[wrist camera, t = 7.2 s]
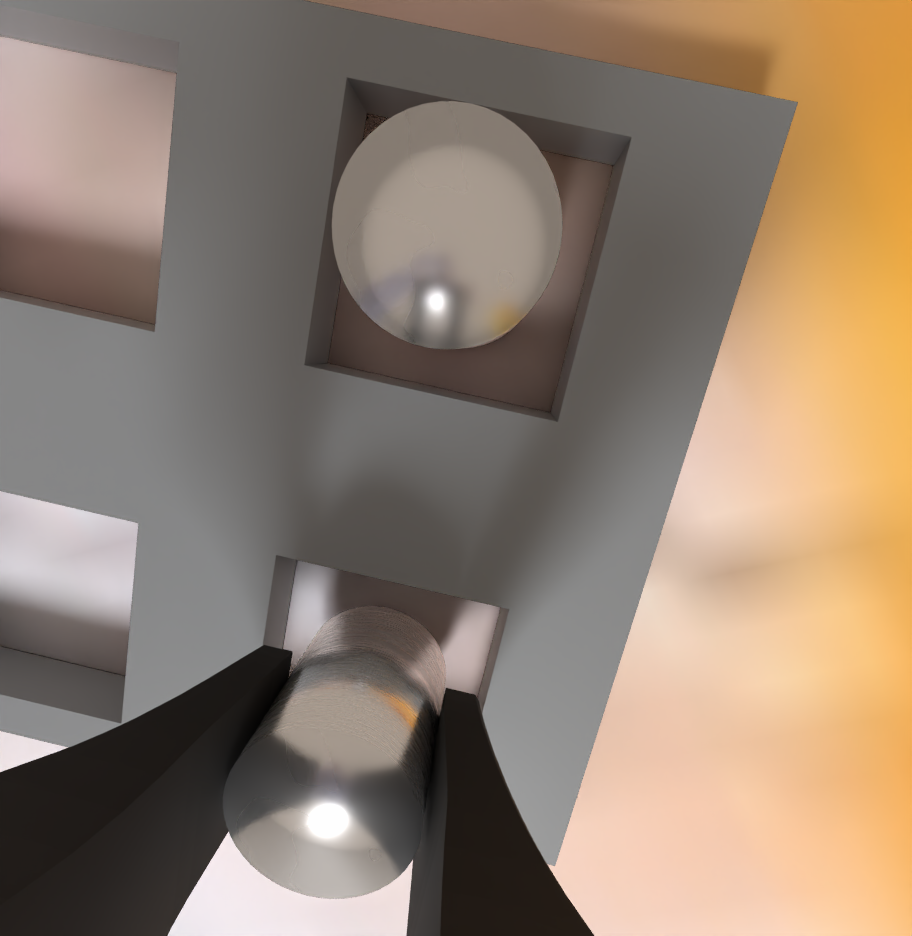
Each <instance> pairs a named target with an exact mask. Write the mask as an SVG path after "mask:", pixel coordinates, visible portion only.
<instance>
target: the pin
mask: <svg viewBox="0 0 912 936" xmlns="http://www.w3.org/2000/svg"><path fill="white" fill-rule="evenodd" d="M562 225H563V222H562V207H561V202H560V196H559V191H558V188H557V185H556V182H555V179H554V176H553V173H552V171H551V169H550V167H549V165H548V163H547V161H546V159H545V158H544V156H543V155H542V153H541V152H540V150H539V148H538V147H537V146H536V144H535V143H534V142H533V141H532V140H531V139H530V138H529V136H528V135H527V134H526V133H525V132H524V131H522V130H521V129H520V128H519V127H518V126H517V125H516V124H514V123H513V122H511V121H510V120H508V119H507V118H505V117H504V116H502V115H501V114H498V113H496V112H494V111H492V110H490V109H488V108H485V107H482V106H478V105H475V104H471V103H465V102H457V101H438V102H432V103H426V104H422V105H418V106H415V107H412V108H409V109H407V110H404V111H402V112H400V113H398V114H396V115H394V116H392V117H391V118H389V119H388V120H386V121H385V122H383V123H382V124H381V125H379V126H378V127H377V128H376V129H375V130H374V131H373V132H371V133H370V134H369V135H368V136H367V137H366V139H365V140H364V141H363V142H362V143H361V144H360V145H359V147H358V148H357V149H356V151H355V152H354V154H353V156H352V157H351V159H350V160H349V162H348V164H347V166H346V168H345V170H344V172H343V174H342V176H341V179H340V182H339V185H338V188H337V191H336V196H335V200H334V205H333V214H332V240H333V247H334V254H335V257H336V261H337V265H338V268H339V271H340V273H341V276H342V278H343V281H344V283H345V285H346V287H347V289H348V290H349V292H350V294H351V296H352V297H353V299H354V300H355V301H356V303H357V304H358V305H359V307H360V308H361V309H362V310H363V311H364V312H365V313H366V315H367V316H368V317H369V318H370V319H371V320H372V321H374V322H375V323H376V324H377V325H379V326H380V327H381V328H382V329H384V330H385V331H387V332H389V333H390V334H392V335H393V336H395V337H397V338H399V339H402V340H404V341H406V342H408V343H412V344H415V345H419V346H422V347H428V348H434V349H461V348H472V347H478V346H482V345H486V344H488V343H491V342H493V341H495V340H497V339H499V338H501V337H502V336H504V335H505V334H507V333H508V332H509V331H511V330H512V329H513V328H514V327H515V326H516V325H517V324H518V323H519V322H520V321H521V320H522V319H523V318H524V317H525V316H526V314H527V313H528V312H529V311H530V310H531V309H532V307H533V306H534V305H535V304H536V302H537V301H538V300H539V299H540V297H541V295H542V294H543V292H544V290H545V289H546V287H547V285H548V283H549V281H550V279H551V276H552V274H553V272H554V269H555V266H556V263H557V260H558V256H559V252H560V246H561V240H562Z"/></svg>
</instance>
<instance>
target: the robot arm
mask: <svg viewBox="0 0 912 936" xmlns="http://www.w3.org/2000/svg"><path fill="white" fill-rule="evenodd" d="M291 658H292V651H288V650H284V649H280V648H275V647H271V646H267V645H263V646H261V647H259V648H258V649H256V650H254V651H253V652H251V653H249V654H248V655H246V656H244V657H243V658H241V659H239V660H238V661H236V662H234V663H233V664H231V665H229V666H228V667H226V668H225V669H223V670H221V671H220V672H218V673H216V674H215V675H213V676H211V677H210V678H208V679H206V680H204V681H203V682H201V683H199V684H198V685H196V686H194V687H192V688H191V689H189V690H187V691H186V692H184V693H182V694H180V695H179V696H177V697H175V698H173V699H171V700H169V701H167V702H165V703H163V704H161V705H159V706H158V707H156V708H154V709H152V710H150V711H148V712H146V713H144V714H142V715H140V716H138V717H137V718H135V719H132V720H130V721H128V722H126V723H124V724H122V725H120V726H118V727H115V728H113V729H111V730H109V731H107V732H104V733H102V734H100V735H97V736H95V737H93V738H90V739H88V740H86V741H83V742H81V743H79V744H76V745H74V746H71V747H69V748H66V749H64V750H61V751H58V752H56V753H53V754H50V755H47V756H44V757H42V758H39V759H36V760H33V761H30V762H28V763H25V764H22V765H19V766H17V767H14V768H11V769H8V770H5V771H3V772H0V936H167V935H168V933H169V931H170V929H171V927H172V925H173V924H174V922H175V920H176V918H177V916H178V915H179V913H180V911H181V909H182V908H183V906H184V904H185V902H186V900H187V899H188V897H189V895H190V894H191V892H192V890H193V889H194V887H195V886H196V884H197V882H198V881H199V879H200V877H201V876H202V874H203V872H204V871H205V869H206V867H207V866H208V864H209V862H210V861H211V859H212V858H213V856H214V854H215V853H216V851H217V849H218V848H219V846H220V844H221V843H222V841H223V839H224V838H225V836H226V835H227V833H228V828H227V826H226V822H225V817H224V811H223V793H224V788H225V784H226V781H227V778H228V775H229V773H230V771H231V769H232V768H233V766H234V764H235V763H236V761H237V759H238V758H239V756H240V755H241V753H242V751H243V750H244V748H245V747H246V745H247V743H248V742H249V740H250V739H251V737H252V736H253V734H254V732H255V731H256V729H257V728H258V726H259V724H260V723H261V721H262V720H263V718H264V716H265V715H266V713H267V712H268V710H269V708H270V707H271V705H272V704H273V702H274V701H275V699H276V697H277V696H278V694H279V693H280V691H281V689H282V688H283V686H284V685H285V683H286V681H287V680H288V677H289V671H290V665H291ZM407 936H594V935H593V933H592V932H591V930H590V929H589V927H588V926H587V925H586V923H585V922H584V920H583V919H582V917H581V916H580V914H579V913H578V912H577V910H576V909H575V907H574V906H573V904H572V903H571V902H570V900H569V899H568V897H567V896H566V894H565V893H564V891H563V889H562V888H561V886H560V885H559V883H558V881H557V880H556V878H555V876H554V875H553V873H552V872H551V870H550V868H549V867H548V865H547V863H546V861H545V860H544V858H543V856H542V854H541V853H540V851H539V849H538V847H537V846H536V844H535V842H534V840H533V838H532V836H531V834H530V832H529V830H528V828H527V826H526V824H525V823H524V821H523V819H522V816H521V814H520V812H519V810H518V808H517V806H516V804H515V801H514V799H513V797H512V795H511V793H510V790H509V788H508V786H507V783H506V781H505V779H504V776H503V773H502V771H501V768H500V766H499V763H498V761H497V758H496V756H495V753H494V750H493V747H492V745H491V742H490V738H489V735H488V732H487V729H486V726H485V723H484V719H483V715H482V711H481V707H480V703H479V700H478V698H477V697H476V695H474V694H470V693H466V692H461V691H457V690H453V689H449V688H446V690H445V694H444V698H443V703H442V707H441V711H440V715H439V720H438V727H437V733H436V739H435V746H434V752H433V761H432V769H431V776H430V782H429V789H428V795H427V801H426V808H425V814H424V821H423V827H422V833H421V840H420V843H419V846H418V849H417V852H416V854H415V856H414V858H413V868H412V880H411V891H410V903H409V914H408V926H407Z"/></svg>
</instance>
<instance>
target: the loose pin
mask: <svg viewBox="0 0 912 936" xmlns="http://www.w3.org/2000/svg"><path fill="white" fill-rule="evenodd" d="M445 680H446V668H445V661H444V658H443V654H442V652H441V650H440V647H439V645H438V644H437V642H436V640H435V639H434V637H433V636H432V635H431V634H430V632H429V631H428V630H427V629H426V628H425V627H424V626H423V625H422V624H420V623H419V622H418V621H416V620H415V619H414V618H412V617H410V616H408V615H407V614H404V613H402V612H400V611H397V610H394V609H390V608H386V607H380V606H363V607H357V608H352V609H349V610H346V611H343V612H341V613H339V614H337V615H336V616H334V617H333V618H331V619H330V620H328V621H327V622H326V623H325V624H324V625H323V626H322V627H321V628H320V630H319V631H318V632H317V634H316V635H315V637H314V638H313V640H312V642H311V643H310V645H309V646H308V648H307V650H306V651H305V653H304V654H303V656H302V658H301V659H300V661H299V662H298V664H297V666H296V667H295V669H294V670H293V672H292V673H291V675H290V677H289V678H288V680H287V681H286V683H285V685H284V686H283V688H282V689H281V691H280V693H279V694H278V696H277V697H276V699H275V701H274V702H273V704H272V705H271V707H270V708H269V710H268V712H267V713H266V715H265V716H264V718H263V720H262V721H261V723H260V724H259V726H258V728H257V729H256V731H255V732H254V734H253V736H252V737H251V739H250V740H249V742H248V743H247V745H246V747H245V748H244V750H243V751H242V753H241V755H240V756H239V758H238V759H237V761H236V763H235V764H234V766H233V768H232V769H231V771H230V773H229V775H228V778H227V781H226V784H225V788H224V793H223V811H224V817H225V822H226V826H227V828H228V831H229V833H230V836H231V838H232V840H233V841H234V843H235V845H236V847H237V848H238V850H239V851H240V852H241V854H242V855H243V856H244V858H245V859H246V860H247V861H248V862H249V863H250V864H251V865H252V866H253V867H254V868H255V869H256V870H258V871H259V872H260V873H261V874H263V875H264V876H265V877H267V878H268V879H270V880H271V881H273V882H275V883H277V884H279V885H280V886H282V887H284V888H287V889H289V890H292V891H294V892H297V893H300V894H304V895H307V896H313V897H318V898H328V899H344V898H352V897H358V896H362V895H365V894H369V893H371V892H374V891H376V890H379V889H381V888H382V887H384V886H386V885H388V884H389V883H391V882H392V881H393V880H395V879H396V878H397V877H399V876H400V875H401V874H402V873H403V872H404V871H405V869H406V868H407V867H408V865H409V864H410V863H411V861H412V860H413V858H414V856H415V854H416V852H417V849H418V846H419V843H420V840H421V833H422V827H423V821H424V814H425V808H426V801H427V795H428V789H429V782H430V776H431V769H432V761H433V752H434V746H435V739H436V733H437V727H438V720H439V715H440V711H441V705H442V699H443V692H444V686H445Z"/></svg>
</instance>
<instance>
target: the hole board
mask: <svg viewBox="0 0 912 936" xmlns="http://www.w3.org/2000/svg"><path fill="white" fill-rule="evenodd" d="M0 36H3V37H8V38H13V39H17V40H22V41H27V42H32V43H36V44H41V45H46V46H50V47H55V48H60V49H65V50H69V51H74V52H79V53H84V54H88V55H93V56H98V57H103V58H107V59H112V60H117V61H122V62H126V63H131V64H136V65H141V66H145V67H150V68H155V69H160V70H164V71H169V72H174V73H177V76H176V87H175V99H174V111H173V123H172V134H171V146H170V158H169V170H168V182H167V193H166V205H165V217H164V229H163V240H162V252H161V264H160V276H159V287H158V299H157V311H156V323H155V324H150V323H146V322H141V321H137V320H132V319H128V318H123V317H119V316H114V315H110V314H105V313H101V312H96V311H92V310H87V309H83V308H78V307H74V306H69V305H65V304H60V303H56V302H51V301H47V300H42V299H38V298H33V297H29V296H24V295H20V294H15V293H11V292H6V291H2V290H0V491H3V492H7V493H11V494H16V495H20V496H24V497H28V498H33V499H37V500H41V501H46V502H50V503H54V504H59V505H63V506H67V507H71V508H76V509H80V510H84V511H89V512H93V513H97V514H102V515H106V516H110V517H115V518H119V519H123V520H127V521H132V522H136V523H138V535H137V547H136V558H135V570H134V582H133V594H132V605H131V617H130V629H129V641H128V652H127V664H126V676H121V675H117V674H113V673H109V672H105V671H101V670H96V669H92V668H88V667H84V666H80V665H76V664H71V663H67V662H63V661H59V660H55V659H51V658H46V657H42V656H38V655H34V654H30V653H26V652H21V651H17V650H13V649H9V648H5V647H0V731H3V732H7V733H11V734H16V735H20V736H24V737H28V738H32V739H36V740H40V741H44V742H48V743H52V744H57V745H61V746H65V747H71V746H74V745H76V744H79V743H81V742H83V741H86V740H88V739H90V738H93V737H95V736H97V735H100V734H102V733H104V732H107V731H109V730H111V729H113V728H115V727H118V726H120V725H122V724H124V723H126V722H128V721H130V720H132V719H135V718H137V717H138V716H140V715H142V714H144V713H146V712H148V711H150V710H152V709H154V708H156V707H158V706H159V705H161V704H163V703H165V702H167V701H169V700H171V699H173V698H175V697H177V696H179V695H180V694H182V693H184V692H186V691H187V690H189V689H191V688H192V687H194V686H196V685H198V684H199V683H201V682H203V681H204V680H206V679H208V678H210V677H211V676H213V675H215V674H216V673H218V672H220V671H221V670H223V669H225V668H226V667H228V666H229V665H231V664H233V663H234V662H236V661H238V660H239V659H241V658H243V657H244V656H246V655H248V654H249V653H251V652H253V651H254V650H256V649H258V648H259V647H261V646H263V645H267V646H271V647H275V648H280V649H283V643H284V636H285V630H286V624H287V617H288V611H289V604H290V598H291V592H292V585H293V579H294V573H295V566H296V560H300V561H304V562H308V563H312V564H317V565H321V566H325V567H330V568H334V569H338V570H343V571H347V572H351V573H355V574H360V575H364V576H368V577H373V578H377V579H381V580H386V581H390V582H394V583H398V584H403V585H407V586H411V587H416V588H420V589H424V590H429V591H433V592H437V593H442V594H446V595H450V596H454V597H459V598H463V599H467V600H472V601H476V602H480V603H485V604H489V605H493V606H497V607H501V609H500V613H499V616H498V620H497V624H496V628H495V632H494V636H493V640H492V644H491V648H490V652H489V656H488V660H487V663H486V667H485V671H484V675H483V679H482V683H481V687H480V691H479V695H478V700H479V703H480V707H481V711H482V715H483V719H484V723H485V726H486V729H487V732H488V735H489V738H490V742H491V745H492V747H493V750H494V753H495V756H496V758H497V761H498V763H499V766H500V768H501V771H502V773H503V776H504V779H505V781H506V783H507V786H508V788H509V790H510V793H511V795H512V797H513V799H514V801H515V804H516V806H517V808H518V810H519V812H520V814H521V816H522V819H523V821H524V823H525V824H526V826H527V828H528V830H529V832H530V834H531V836H532V838H533V840H534V842H535V844H536V846H537V847H538V849H539V851H540V853H541V854H542V856H543V858H544V860H545V861H546V863H547V864H549V865H553V866H555V864H556V861H557V858H558V855H559V852H560V849H561V845H562V842H563V839H564V836H565V833H566V830H567V827H568V823H569V820H570V817H571V814H572V811H573V808H574V805H575V801H576V798H577V795H578V792H579V789H580V786H581V783H582V779H583V776H584V773H585V770H586V767H587V764H588V761H589V757H590V754H591V751H592V748H593V745H594V742H595V739H596V735H597V732H598V729H599V726H600V723H601V720H602V717H603V713H604V710H605V707H606V704H607V701H608V698H609V695H610V691H611V688H612V685H613V682H614V679H615V676H616V673H617V669H618V666H619V663H620V660H621V657H622V654H623V651H624V647H625V644H626V641H627V638H628V635H629V632H630V629H631V625H632V622H633V619H634V616H635V613H636V610H637V607H638V603H639V600H640V597H641V594H642V591H643V588H644V584H645V581H646V578H647V575H648V572H649V569H650V566H651V562H652V559H653V556H654V553H655V550H656V547H657V544H658V540H659V537H660V534H661V531H662V528H663V525H664V522H665V518H666V515H667V512H668V509H669V506H670V503H671V500H672V496H673V493H674V490H675V487H676V484H677V481H678V478H679V474H680V471H681V468H682V465H683V462H684V459H685V456H686V452H687V449H688V446H689V443H690V440H691V437H692V434H693V430H694V427H695V424H696V421H697V418H698V415H699V412H700V408H701V405H702V402H703V399H704V396H705V393H706V390H707V386H708V383H709V380H710V377H711V374H712V371H713V368H714V364H715V361H716V358H717V355H718V352H719V349H720V346H721V342H722V339H723V336H724V333H725V330H726V327H727V324H728V320H729V317H730V314H731V311H732V308H733V305H734V302H735V298H736V295H737V292H738V289H739V286H740V283H741V280H742V276H743V273H744V270H745V267H746V264H747V261H748V258H749V254H750V251H751V248H752V245H753V242H754V239H755V236H756V232H757V229H758V226H759V223H760V220H761V217H762V214H763V210H764V207H765V204H766V201H767V198H768V195H769V192H770V188H771V185H772V182H773V179H774V176H775V173H776V170H777V166H778V163H779V160H780V157H781V154H782V151H783V148H784V144H785V141H786V138H787V135H788V132H789V129H790V126H791V122H792V119H793V116H794V113H795V110H796V107H797V104H798V102H794V101H790V100H785V99H780V98H775V97H770V96H765V95H760V94H756V93H751V92H746V91H741V90H736V89H731V88H726V87H722V86H717V85H712V84H707V83H702V82H697V81H693V80H688V79H683V78H678V77H673V76H668V75H663V74H659V73H654V72H649V71H644V70H639V69H634V68H630V67H625V66H620V65H615V64H610V63H605V62H600V61H596V60H591V59H586V58H581V57H576V56H571V55H567V54H562V53H557V52H552V51H547V50H542V49H537V48H533V47H528V46H523V45H518V44H513V43H508V42H503V41H499V40H494V39H489V38H484V37H479V36H474V35H470V34H465V33H460V32H455V31H450V30H445V29H440V28H436V27H431V26H426V25H421V24H416V23H411V22H407V21H402V20H397V19H392V18H387V17H382V16H377V15H373V14H368V13H363V12H358V11H353V10H348V9H344V8H339V7H334V6H329V5H324V4H319V3H314V2H310V1H305V0H0ZM438 101H457V102H465V103H471V104H475V105H478V106H482V107H485V108H488V109H490V110H492V111H494V112H496V113H498V114H501V115H502V116H504V117H505V118H507V119H508V120H510V121H511V122H513V123H514V124H516V125H517V126H518V127H519V128H520V129H521V130H522V131H524V132H525V133H526V134H527V135H528V136H529V138H530V139H531V140H532V141H533V142H534V143H535V144H536V146H537V147H538V148H539V150H544V151H548V152H553V153H558V154H563V155H567V156H572V157H577V158H581V159H586V160H591V161H596V162H600V163H605V164H610V165H614V166H613V170H612V174H611V178H610V182H609V185H608V189H607V193H606V197H605V201H604V205H603V209H602V213H601V217H600V221H599V225H598V229H597V233H596V236H595V240H594V244H593V248H592V252H591V256H590V260H589V264H588V268H587V272H586V276H585V280H584V283H583V287H582V291H581V295H580V299H579V303H578V307H577V311H576V315H575V319H574V323H573V327H572V330H571V334H570V338H569V342H568V346H567V350H566V354H565V358H564V362H563V366H562V370H561V374H560V377H559V381H558V385H557V389H556V393H555V397H554V401H553V405H552V409H551V413H549V412H545V411H540V410H536V409H531V408H527V407H522V406H518V405H513V404H509V403H504V402H500V401H495V400H491V399H486V398H482V397H477V396H473V395H469V394H464V393H460V392H455V391H451V390H446V389H442V388H437V387H433V386H428V385H424V384H419V383H415V382H410V381H406V380H401V379H397V378H392V377H388V376H383V375H379V374H374V373H370V372H365V371H361V370H356V369H352V368H347V367H343V366H338V365H334V364H329V363H328V357H329V351H330V344H331V338H332V332H333V325H334V319H335V313H336V306H337V300H338V294H339V287H340V281H341V273H340V271H339V268H338V265H337V261H336V257H335V254H334V247H333V240H332V214H333V205H334V200H335V196H336V191H337V188H338V185H339V182H340V179H341V176H342V174H343V172H344V170H345V168H346V166H347V164H348V162H349V160H350V159H351V157H352V156H353V154H354V152H355V151H356V149H357V148H358V147H359V145H360V144H361V143H362V141H363V135H364V129H365V122H366V116H367V113H368V114H373V115H378V116H382V117H387V118H391V117H392V116H394V115H396V114H398V113H400V112H402V111H404V110H407V109H409V108H412V107H415V106H418V105H422V104H426V103H432V102H438Z"/></svg>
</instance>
